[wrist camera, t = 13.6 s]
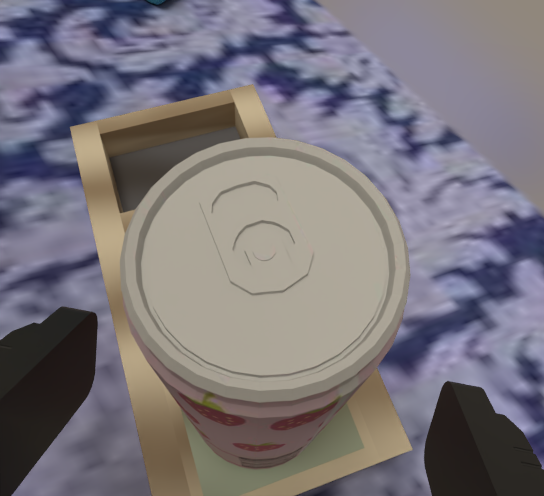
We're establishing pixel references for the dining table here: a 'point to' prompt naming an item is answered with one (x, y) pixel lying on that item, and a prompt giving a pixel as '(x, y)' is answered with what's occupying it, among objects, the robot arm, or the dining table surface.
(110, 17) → the dining table surface
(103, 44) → the dining table surface
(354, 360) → the beverage can
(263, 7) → the dining table surface
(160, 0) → the data package
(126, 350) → the board
